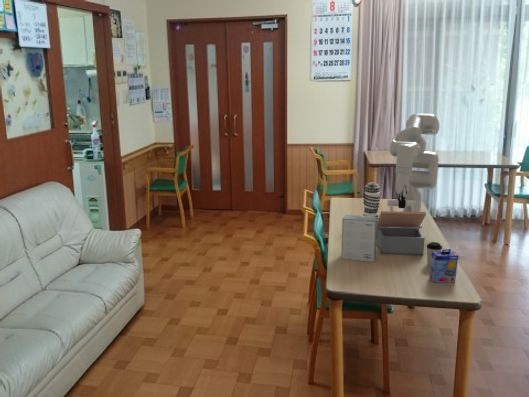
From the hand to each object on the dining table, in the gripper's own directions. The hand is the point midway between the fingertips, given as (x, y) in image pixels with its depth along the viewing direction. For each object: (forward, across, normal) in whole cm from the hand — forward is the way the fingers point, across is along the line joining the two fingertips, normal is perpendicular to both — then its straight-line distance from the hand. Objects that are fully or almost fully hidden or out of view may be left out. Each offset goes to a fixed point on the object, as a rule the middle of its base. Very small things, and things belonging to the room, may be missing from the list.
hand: (401, 206), depth 248 cm
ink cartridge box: (+22, +37, +12) cm, 45 cm away
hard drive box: (+22, +14, -21) cm, 33 cm away
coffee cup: (+22, +20, +12) cm, 32 cm away
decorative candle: (+21, -34, -10) cm, 41 cm away
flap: (+7, +1, 0) cm, 7 cm away
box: (+21, +2, 0) cm, 21 cm away
